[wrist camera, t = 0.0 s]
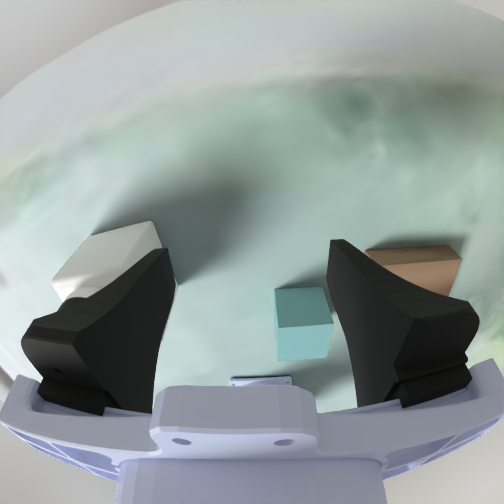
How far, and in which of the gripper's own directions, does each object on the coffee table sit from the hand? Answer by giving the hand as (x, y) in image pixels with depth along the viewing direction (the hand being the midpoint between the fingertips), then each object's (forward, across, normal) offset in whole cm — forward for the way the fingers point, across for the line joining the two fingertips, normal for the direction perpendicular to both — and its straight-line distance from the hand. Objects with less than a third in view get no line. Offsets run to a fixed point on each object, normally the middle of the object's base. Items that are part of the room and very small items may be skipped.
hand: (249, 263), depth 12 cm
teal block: (+10, -4, +12) cm, 16 cm away
